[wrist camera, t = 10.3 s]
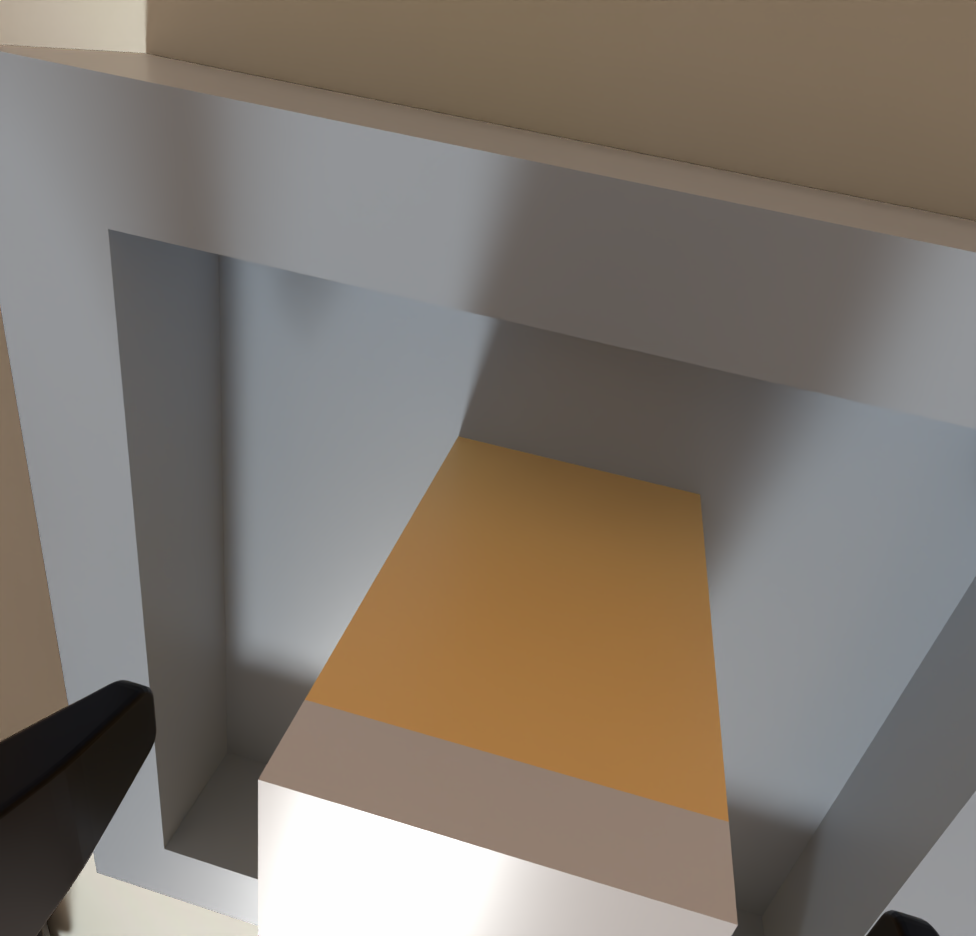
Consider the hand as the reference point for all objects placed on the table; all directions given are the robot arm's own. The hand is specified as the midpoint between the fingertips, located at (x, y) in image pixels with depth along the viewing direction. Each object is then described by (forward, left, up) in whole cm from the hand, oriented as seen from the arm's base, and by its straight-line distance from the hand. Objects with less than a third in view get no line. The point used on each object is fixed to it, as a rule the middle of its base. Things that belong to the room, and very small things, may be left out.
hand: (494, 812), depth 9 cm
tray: (0, 0, -4) cm, 4 cm away
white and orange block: (0, 0, -4) cm, 4 cm away
